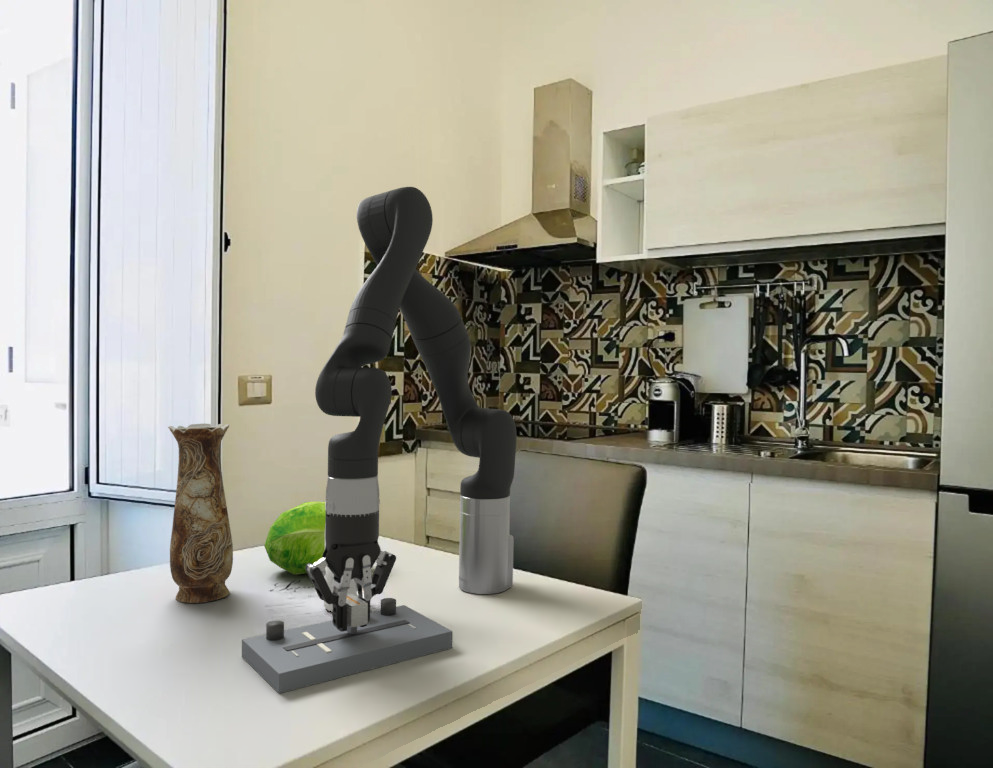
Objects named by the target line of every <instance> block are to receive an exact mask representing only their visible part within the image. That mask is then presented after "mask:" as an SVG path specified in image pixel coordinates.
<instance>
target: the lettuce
mask: <svg viewBox="0 0 993 768" xmlns="http://www.w3.org/2000/svg"><path fill="white" fill-rule="evenodd" d="M325 502H326V501H318V500H317V501H308V502H303V503H301V504H299V505H296V506H294V507H291V508H290V509H287V510H285V511H284V512H282V513H280V515H279V516H278V517H277V518H276V519H275V521H274V522H273V524H272V525H271V526H270V527H269V530H268V533H267V536H266V539H265V542H264V545H263V546H264V549H265V551H266V554H267V556H268V559H269V561H270V562H271V563H273V564H274V565H276V566H277V567H279V568H280V569H282V570H284V571H287V572H288V573H290V574H293V575H301V574H302V575H303V574H307V572H306V570H305V567H306V565H307V564H309V563H311V564H314V563H315V562H317V561H318V560H320V559H321V558H322V555H323V552H324V550H325V513H326V509H325Z"/></svg>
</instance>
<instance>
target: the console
mask: <svg viewBox="0 0 993 768" xmlns="http://www.w3.org/2000/svg"><path fill="white" fill-rule="evenodd" d="M265 626H266V627H265V629H266V632H265V634H260V635H256V636H255V635H254V636H250V637H245V638H241V658H242V659H243V660H244V661H245V662H246V663H247V664H248V665H249V666H251V668H252V669H253V670H254V671H255V672H256V673H257V674H258V675H259V676H260V677H261V678H263V680H265V682H266V683H267V684H268V685H270V687H272V688H273V689H274V690H275V692H276V693H278V694H282V693H286V692H289V691H294V690H297V689H301V688H305V687H309V686H314V685H317V684H320V683H325V682H329V681H332V680H335V679H339V678H343V677H347V676H350V675H354V674H359V673H362V672H367V671H369V670H373V669H377V668H381V667H384V666H389V665H392V664H396V663H399V662H404V661H408V660H411V659H415V658H419V657H423V656H426V655H427V656H428V655H430V654H433V653H434V654H435V653H438V652H442V651H446V650H449V649H453V636H454V635H453V634H454V633H453V630H451V629H450V628H448V627H446V626H444V625H443V624H440V623H438V622H437V621H435V620H433V619H431V618H429V617H427V616H425V615H424V614H422V613H420V612H418V611H416V610H415V609H412V608H411V607H408V606H407V605H405V604H404V605H398V606H397V599H396V598H393V597H386V598H385V597H384V598H382V599H380V607H379V610H374V611H373V610H372V611H370V619H369V622H368V624H367V626H365V627H360V626H357V633H354V634H350V633H348V632H347V631H343V632H341V631H339V630H338V629H337V628H336V627H335V626H334V625H333V619H331V620H327V621H322V622H317V623H313V624H308V625H302V626H299V627H293V628H289V629H285V621H283V620H271V621H268V622H266V625H265Z"/></svg>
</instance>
